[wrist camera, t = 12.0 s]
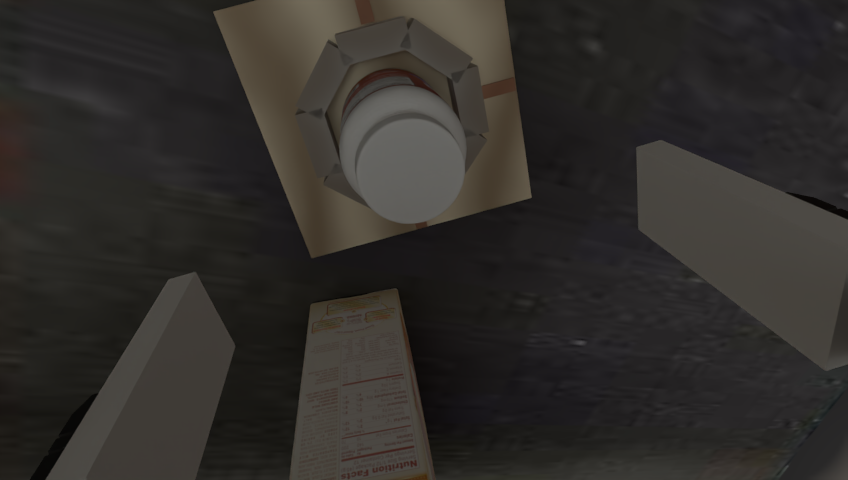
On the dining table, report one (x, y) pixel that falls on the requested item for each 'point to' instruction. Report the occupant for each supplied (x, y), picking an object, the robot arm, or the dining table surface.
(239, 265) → the dining table surface
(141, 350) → the robot arm
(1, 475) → the dining table surface
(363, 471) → the coffeecake box
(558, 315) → the dining table surface
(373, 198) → the pill bottle
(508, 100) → the socket
